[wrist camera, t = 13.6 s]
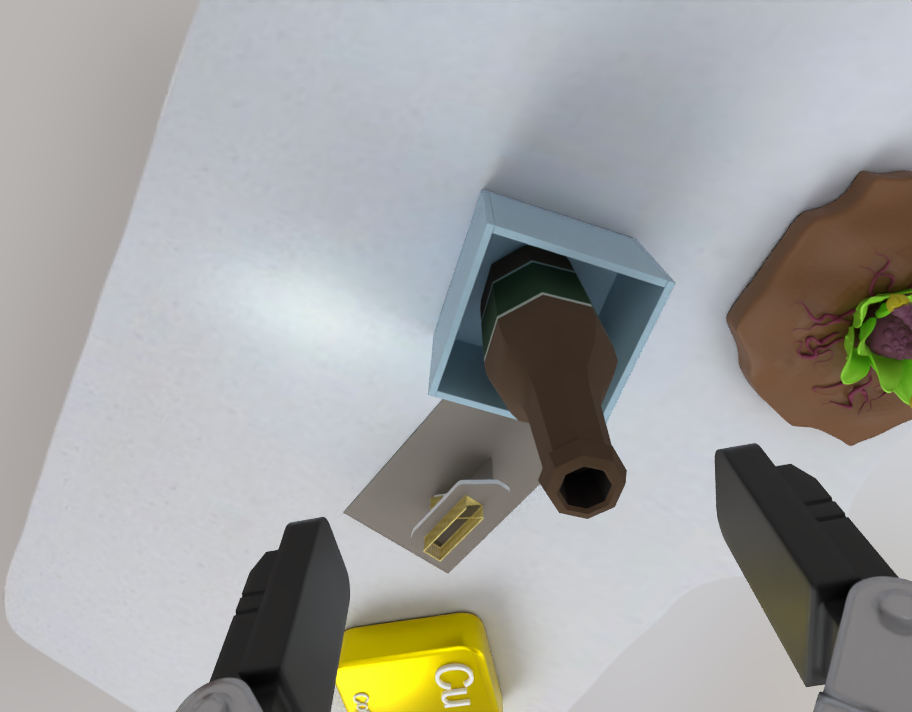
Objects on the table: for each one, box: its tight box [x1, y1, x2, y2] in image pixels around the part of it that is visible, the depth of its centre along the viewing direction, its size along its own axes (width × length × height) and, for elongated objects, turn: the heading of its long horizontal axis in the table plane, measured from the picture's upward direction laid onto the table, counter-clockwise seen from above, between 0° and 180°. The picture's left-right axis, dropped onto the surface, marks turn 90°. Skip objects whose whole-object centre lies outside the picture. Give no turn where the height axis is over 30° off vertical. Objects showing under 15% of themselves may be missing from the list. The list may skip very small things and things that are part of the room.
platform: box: [344, 399, 542, 573], centre depth 54 cm, size 12×18×6 cm, turn 142°
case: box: [428, 189, 675, 423], centre depth 45 cm, size 12×12×10 cm
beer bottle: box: [480, 245, 627, 519], centre depth 38 cm, size 8×8×24 cm
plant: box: [727, 171, 912, 446], centre depth 45 cm, size 20×20×11 cm
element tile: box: [335, 613, 503, 712], centre depth 65 cm, size 15×15×5 cm
